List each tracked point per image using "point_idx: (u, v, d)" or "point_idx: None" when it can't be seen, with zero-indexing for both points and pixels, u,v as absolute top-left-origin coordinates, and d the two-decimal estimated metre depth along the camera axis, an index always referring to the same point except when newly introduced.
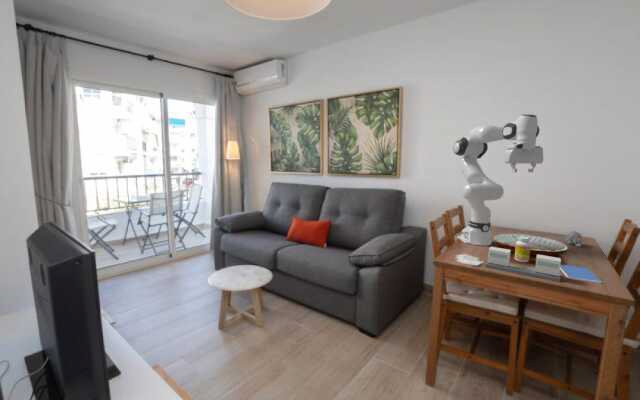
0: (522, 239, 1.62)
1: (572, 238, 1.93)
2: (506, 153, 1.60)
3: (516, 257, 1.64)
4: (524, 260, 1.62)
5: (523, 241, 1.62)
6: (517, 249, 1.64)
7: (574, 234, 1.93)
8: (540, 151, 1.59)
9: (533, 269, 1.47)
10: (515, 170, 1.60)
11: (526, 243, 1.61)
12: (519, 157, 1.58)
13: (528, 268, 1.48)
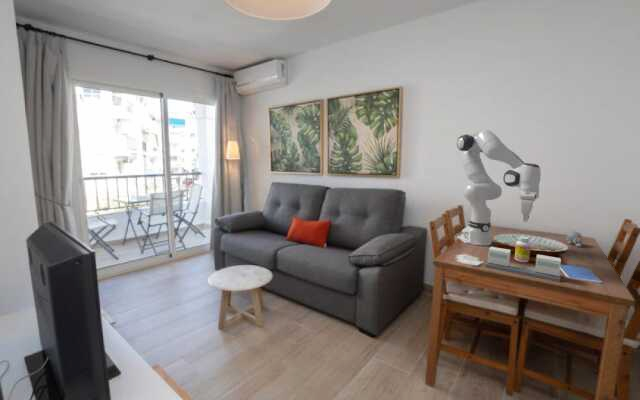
0: (522, 239, 1.62)
1: (572, 238, 1.93)
2: (523, 203, 1.54)
3: (516, 257, 1.64)
4: (524, 260, 1.62)
5: (523, 241, 1.62)
6: (517, 249, 1.64)
7: (574, 234, 1.93)
8: None
9: (533, 269, 1.47)
10: (527, 220, 1.57)
11: (526, 243, 1.61)
12: None
13: (528, 268, 1.48)
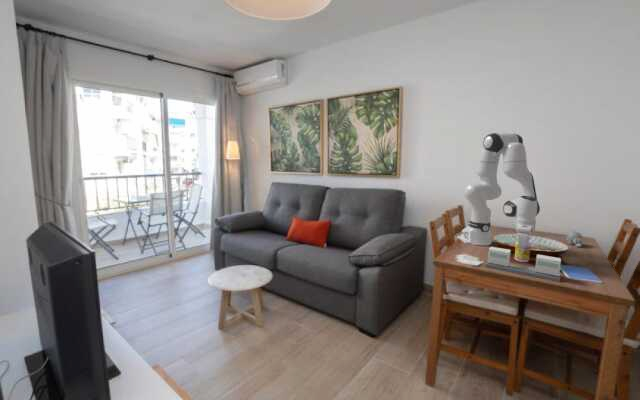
0: None
1: (572, 238, 1.93)
2: (520, 237, 1.56)
3: (516, 257, 1.64)
4: (524, 260, 1.62)
5: None
6: (517, 249, 1.64)
7: (574, 234, 1.93)
8: None
9: (533, 269, 1.47)
10: (523, 251, 1.60)
11: None
12: None
13: (528, 268, 1.48)
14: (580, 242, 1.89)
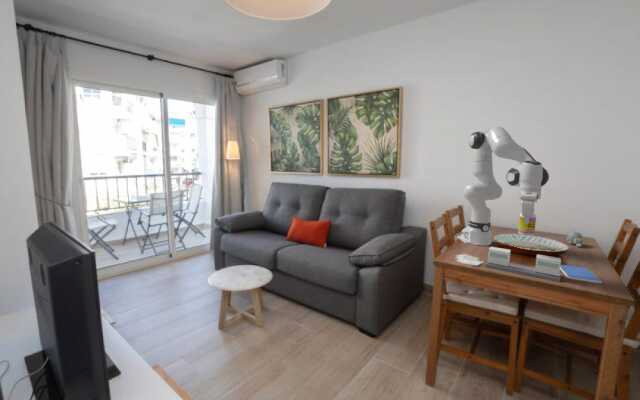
0: None
1: (572, 238, 1.93)
2: (524, 205, 1.40)
3: (520, 230, 1.48)
4: (529, 233, 1.45)
5: None
6: (521, 221, 1.47)
7: (574, 234, 1.92)
8: None
9: (533, 269, 1.47)
10: (528, 222, 1.44)
11: None
12: None
13: (528, 268, 1.48)
14: (580, 242, 1.89)
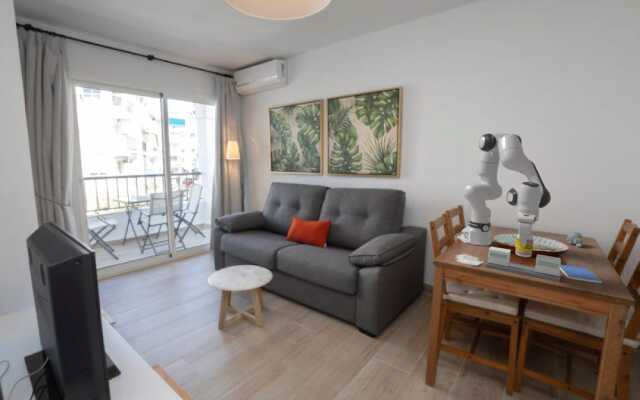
0: None
1: (573, 238, 1.93)
2: (522, 227, 1.40)
3: (517, 251, 1.48)
4: (526, 255, 1.45)
5: None
6: (518, 243, 1.47)
7: (575, 234, 1.92)
8: None
9: (533, 269, 1.47)
10: None
11: None
12: None
13: (528, 268, 1.48)
14: (580, 242, 1.89)
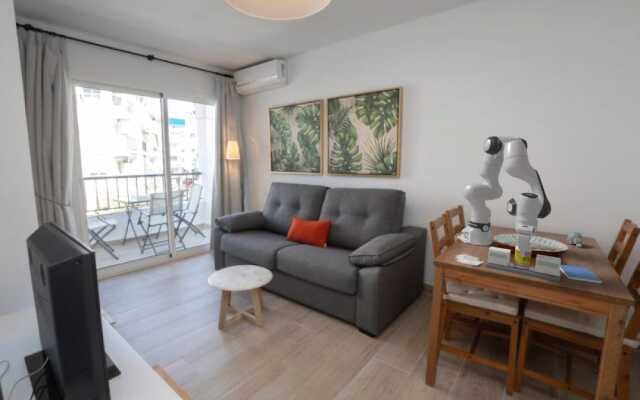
0: None
1: (573, 238, 1.93)
2: (520, 238, 1.40)
3: (516, 263, 1.49)
4: (524, 267, 1.47)
5: None
6: (517, 255, 1.48)
7: (575, 234, 1.92)
8: None
9: (533, 269, 1.47)
10: (524, 255, 1.44)
11: (527, 248, 1.46)
12: None
13: None
14: (580, 242, 1.89)
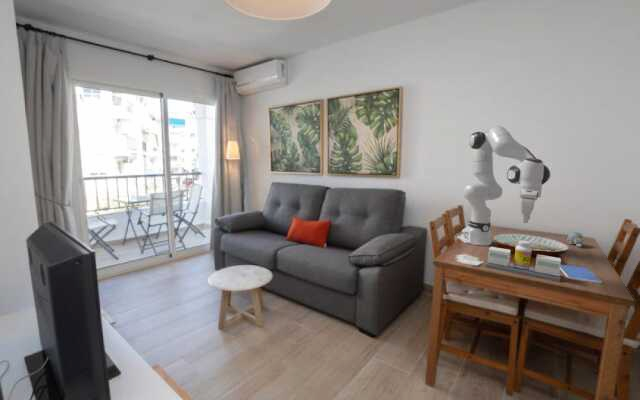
0: (522, 244, 1.47)
1: (573, 238, 1.92)
2: (524, 203, 1.39)
3: (516, 263, 1.49)
4: (524, 267, 1.47)
5: (523, 246, 1.47)
6: (517, 255, 1.48)
7: (575, 234, 1.92)
8: None
9: (533, 269, 1.47)
10: None
11: (527, 248, 1.46)
12: None
13: None
14: (581, 242, 1.89)
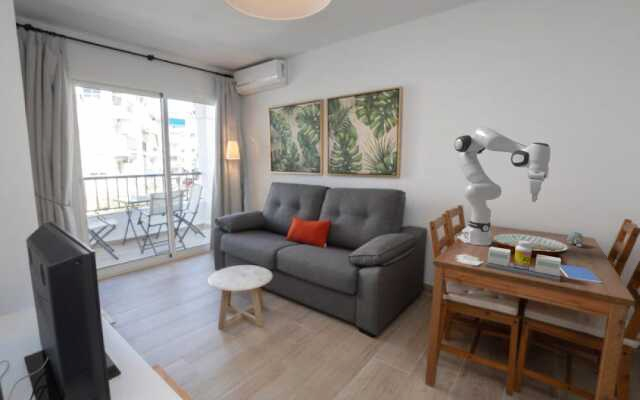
0: (522, 244, 1.47)
1: (573, 238, 1.92)
2: (532, 183, 1.50)
3: (516, 263, 1.49)
4: (524, 267, 1.47)
5: (523, 246, 1.47)
6: (517, 255, 1.48)
7: (575, 234, 1.92)
8: None
9: (533, 269, 1.47)
10: None
11: (527, 248, 1.46)
12: None
13: None
14: (581, 242, 1.88)
